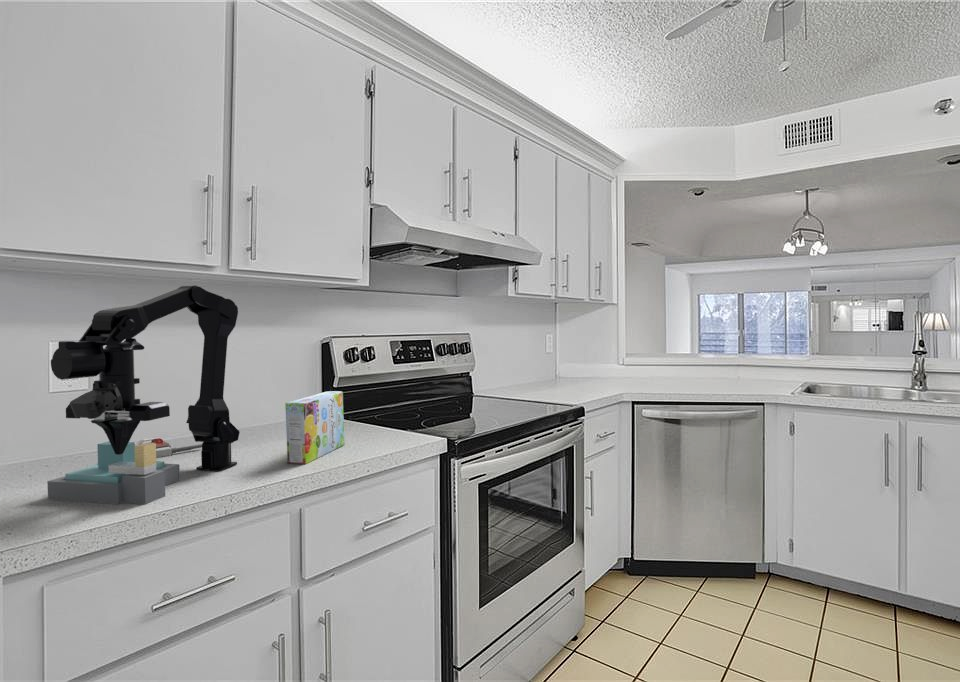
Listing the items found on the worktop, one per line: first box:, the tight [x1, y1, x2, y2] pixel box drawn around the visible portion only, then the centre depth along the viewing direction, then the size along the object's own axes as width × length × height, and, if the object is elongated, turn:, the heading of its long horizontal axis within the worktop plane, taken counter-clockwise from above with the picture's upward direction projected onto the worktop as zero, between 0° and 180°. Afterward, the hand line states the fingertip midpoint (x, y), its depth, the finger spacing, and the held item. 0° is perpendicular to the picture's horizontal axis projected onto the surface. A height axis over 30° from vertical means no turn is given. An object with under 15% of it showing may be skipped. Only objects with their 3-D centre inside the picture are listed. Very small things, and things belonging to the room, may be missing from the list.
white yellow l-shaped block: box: [108, 442, 157, 475], centre depth 109 cm, size 3×8×6 cm, turn 79°
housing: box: [47, 462, 181, 505], centre depth 114 cm, size 16×21×5 cm
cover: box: [64, 440, 165, 483], centre depth 115 cm, size 12×12×8 cm
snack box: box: [284, 390, 346, 465], centre depth 145 cm, size 21×6×15 cm, turn 168°
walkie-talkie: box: [135, 436, 202, 459], centre depth 145 cm, size 9×4×20 cm
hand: (119, 454), depth 109 cm, fingers closed
